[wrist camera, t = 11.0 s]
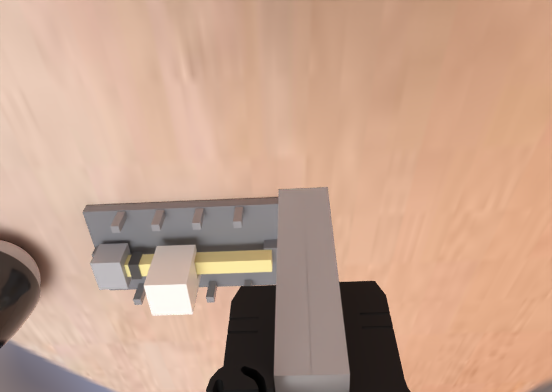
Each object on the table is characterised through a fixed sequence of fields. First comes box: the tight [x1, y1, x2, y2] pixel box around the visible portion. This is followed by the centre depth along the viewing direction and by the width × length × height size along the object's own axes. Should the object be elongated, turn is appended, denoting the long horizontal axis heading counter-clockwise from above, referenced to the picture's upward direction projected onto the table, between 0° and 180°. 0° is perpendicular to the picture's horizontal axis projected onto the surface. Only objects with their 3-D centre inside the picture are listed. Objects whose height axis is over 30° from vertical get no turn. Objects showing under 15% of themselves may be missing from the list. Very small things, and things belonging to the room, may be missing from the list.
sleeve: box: [144, 245, 201, 315], centre depth 49 cm, size 4×4×6 cm
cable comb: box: [83, 197, 278, 305], centre depth 52 cm, size 20×11×5 cm, turn 93°
